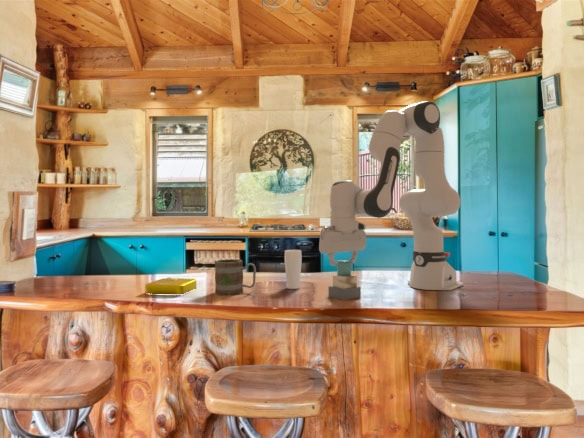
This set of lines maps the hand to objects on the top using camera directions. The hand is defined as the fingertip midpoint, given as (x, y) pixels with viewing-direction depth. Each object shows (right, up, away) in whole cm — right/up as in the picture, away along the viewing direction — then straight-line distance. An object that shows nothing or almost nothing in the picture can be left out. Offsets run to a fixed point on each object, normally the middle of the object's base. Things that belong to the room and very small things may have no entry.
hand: (343, 264), depth 146 cm
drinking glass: (-18, -11, +16) cm, 26 cm away
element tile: (-65, -12, +11) cm, 67 cm away
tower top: (0, -8, -1) cm, 8 cm away
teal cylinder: (0, -4, 0) cm, 4 cm away
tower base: (0, -12, -1) cm, 12 cm away
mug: (-40, -12, +8) cm, 42 cm away
